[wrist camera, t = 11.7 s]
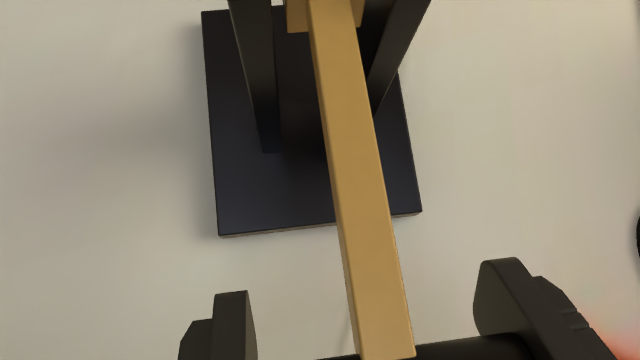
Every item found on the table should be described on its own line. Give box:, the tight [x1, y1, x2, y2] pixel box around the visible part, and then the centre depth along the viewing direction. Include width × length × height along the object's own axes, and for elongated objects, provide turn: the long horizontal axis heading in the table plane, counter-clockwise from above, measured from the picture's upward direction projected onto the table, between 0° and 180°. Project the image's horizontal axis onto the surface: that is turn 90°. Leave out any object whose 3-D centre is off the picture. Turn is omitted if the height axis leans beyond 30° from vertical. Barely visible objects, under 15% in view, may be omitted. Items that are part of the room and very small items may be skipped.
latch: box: [283, 0, 534, 360], centre depth 11 cm, size 13×6×2 cm, turn 7°
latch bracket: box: [201, 0, 431, 238], centre depth 18 cm, size 12×10×14 cm
